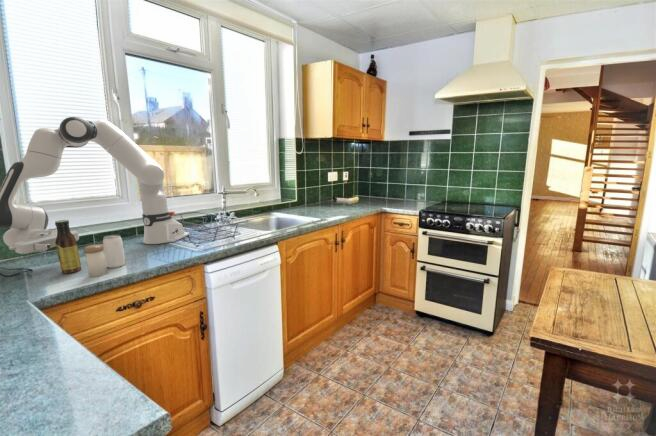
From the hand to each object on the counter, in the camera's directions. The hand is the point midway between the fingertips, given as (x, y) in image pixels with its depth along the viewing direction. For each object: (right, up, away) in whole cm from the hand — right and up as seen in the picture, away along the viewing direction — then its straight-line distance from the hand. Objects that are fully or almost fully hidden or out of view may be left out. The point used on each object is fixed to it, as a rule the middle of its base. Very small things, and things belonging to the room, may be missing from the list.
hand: (61, 243), depth 129 cm
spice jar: (+15, -11, -2) cm, 19 cm away
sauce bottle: (+3, -11, +1) cm, 11 cm away
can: (+17, -10, +7) cm, 20 cm away
